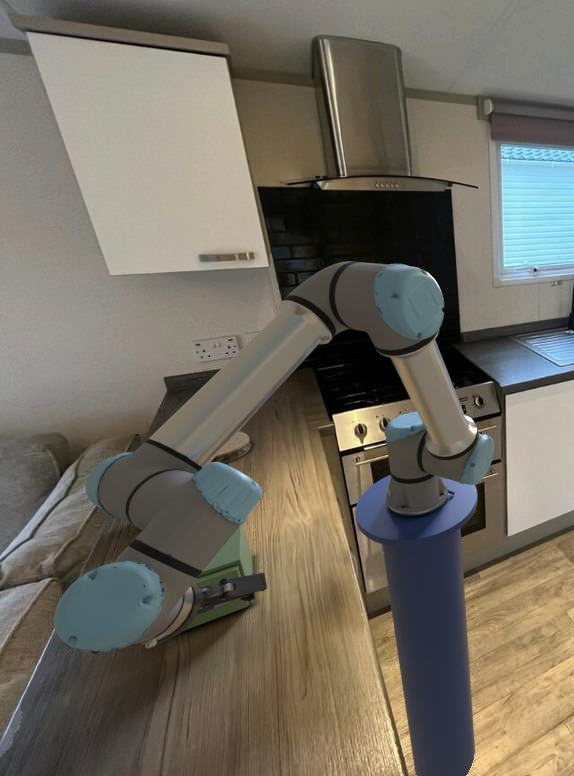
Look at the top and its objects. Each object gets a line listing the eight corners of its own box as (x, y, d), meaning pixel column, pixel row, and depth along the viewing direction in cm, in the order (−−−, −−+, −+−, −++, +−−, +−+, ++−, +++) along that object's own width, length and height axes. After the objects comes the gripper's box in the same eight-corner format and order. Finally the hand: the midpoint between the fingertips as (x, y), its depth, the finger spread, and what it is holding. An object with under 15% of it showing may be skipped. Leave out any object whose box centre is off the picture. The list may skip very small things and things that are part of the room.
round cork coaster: (198, 473, 122) (195, 464, 121) (179, 454, 131) (176, 446, 130) (259, 450, 134) (257, 441, 133) (238, 434, 143) (236, 426, 142)
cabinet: (253, 603, 82) (240, 559, 78) (175, 633, 76) (157, 587, 72) (252, 557, 93) (241, 516, 89) (183, 580, 87) (168, 537, 83)
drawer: (248, 627, 76) (236, 588, 73) (173, 657, 71) (157, 617, 68) (248, 562, 90) (238, 528, 87) (185, 583, 85) (172, 547, 82)
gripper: (4, 699, 45) (93, 677, 62) (279, 594, 58) (291, 600, 75) (5, 623, 48) (91, 622, 65) (269, 538, 60) (282, 556, 77)
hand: (198, 610), depth 70 cm, fingers open, 13 cm apart
